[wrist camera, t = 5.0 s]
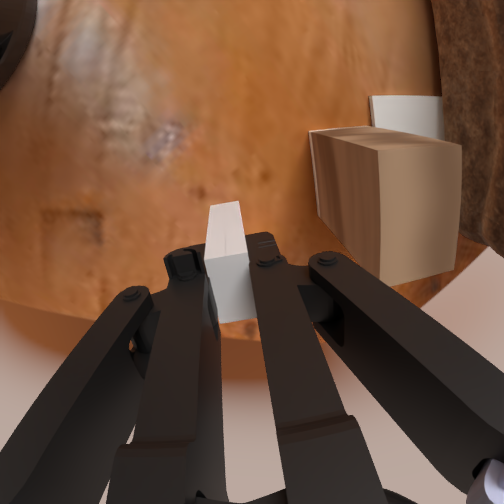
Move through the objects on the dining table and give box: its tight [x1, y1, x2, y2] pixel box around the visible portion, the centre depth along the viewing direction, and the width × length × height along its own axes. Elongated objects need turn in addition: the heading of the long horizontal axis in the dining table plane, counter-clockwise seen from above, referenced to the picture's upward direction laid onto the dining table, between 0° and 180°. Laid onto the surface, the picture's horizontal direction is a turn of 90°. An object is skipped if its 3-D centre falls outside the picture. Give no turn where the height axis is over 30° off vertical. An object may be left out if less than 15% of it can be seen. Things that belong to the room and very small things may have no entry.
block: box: [308, 126, 462, 287], centre depth 20 cm, size 5×7×12 cm
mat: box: [369, 95, 445, 141], centre depth 25 cm, size 16×12×1 cm
